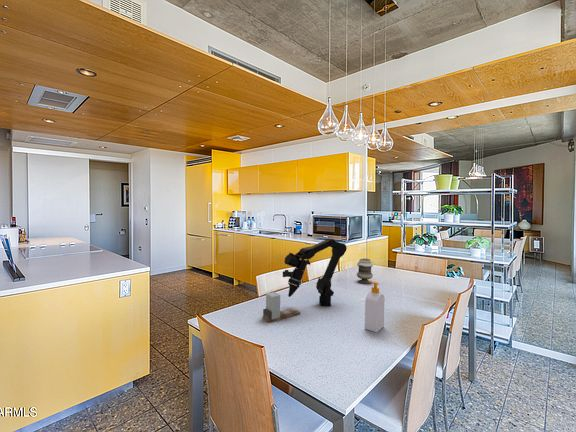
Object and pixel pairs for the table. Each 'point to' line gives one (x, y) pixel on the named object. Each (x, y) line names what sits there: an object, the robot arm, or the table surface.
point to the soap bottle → (374, 309)
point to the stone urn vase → (364, 270)
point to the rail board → (283, 314)
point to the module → (273, 304)
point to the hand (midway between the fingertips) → (289, 296)
